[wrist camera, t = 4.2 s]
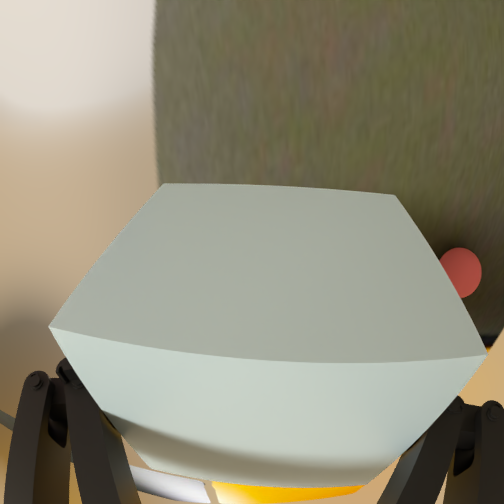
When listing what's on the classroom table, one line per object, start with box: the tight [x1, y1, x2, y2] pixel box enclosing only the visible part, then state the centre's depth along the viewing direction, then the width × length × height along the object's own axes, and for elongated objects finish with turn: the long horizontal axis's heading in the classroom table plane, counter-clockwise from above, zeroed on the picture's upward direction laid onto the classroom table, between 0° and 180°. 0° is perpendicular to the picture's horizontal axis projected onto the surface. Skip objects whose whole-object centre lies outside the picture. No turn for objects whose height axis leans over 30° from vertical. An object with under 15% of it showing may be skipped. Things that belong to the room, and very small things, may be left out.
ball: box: [439, 248, 481, 298], centre depth 26 cm, size 5×5×5 cm
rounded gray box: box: [48, 184, 488, 488], centre depth 12 cm, size 10×10×9 cm
